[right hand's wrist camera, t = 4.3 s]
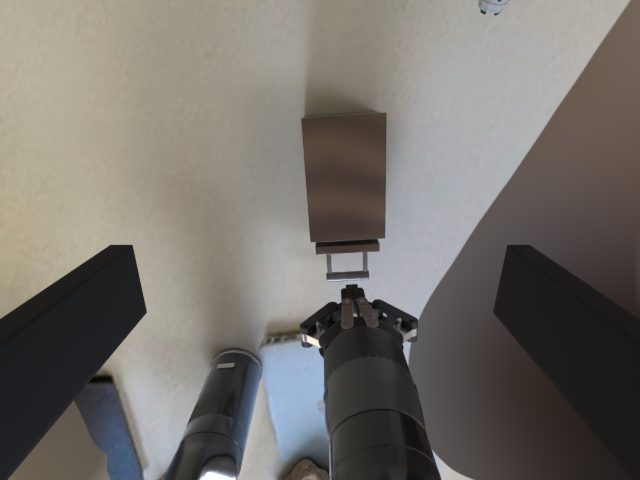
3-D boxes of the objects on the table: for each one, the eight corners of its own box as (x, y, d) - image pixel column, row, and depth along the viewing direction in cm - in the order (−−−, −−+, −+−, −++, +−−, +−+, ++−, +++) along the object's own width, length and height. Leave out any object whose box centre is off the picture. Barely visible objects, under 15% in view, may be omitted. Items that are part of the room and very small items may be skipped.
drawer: (373, 268, 56) (379, 286, 51) (318, 270, 57) (318, 289, 51) (373, 137, 49) (379, 142, 43) (309, 141, 49) (308, 146, 44)
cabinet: (376, 220, 54) (385, 238, 47) (311, 223, 55) (310, 242, 47) (376, 111, 49) (386, 112, 41) (304, 116, 49) (301, 118, 41)
